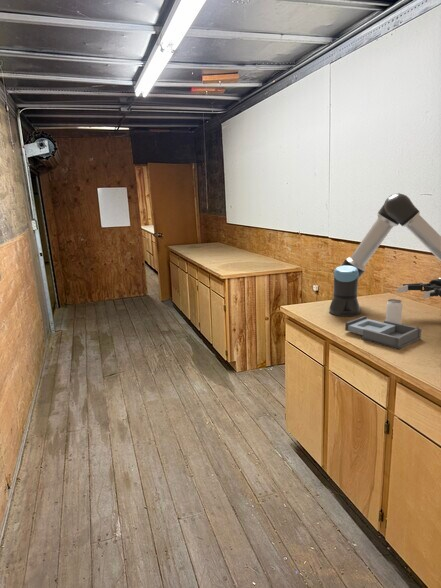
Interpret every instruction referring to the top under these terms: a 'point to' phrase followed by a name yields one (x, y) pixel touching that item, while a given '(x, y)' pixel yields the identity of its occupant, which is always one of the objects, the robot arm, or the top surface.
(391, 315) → the can
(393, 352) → the top surface
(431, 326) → the top surface
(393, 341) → the tray
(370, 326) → the tray
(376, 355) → the top surface
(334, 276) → the robot arm
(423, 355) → the top surface
